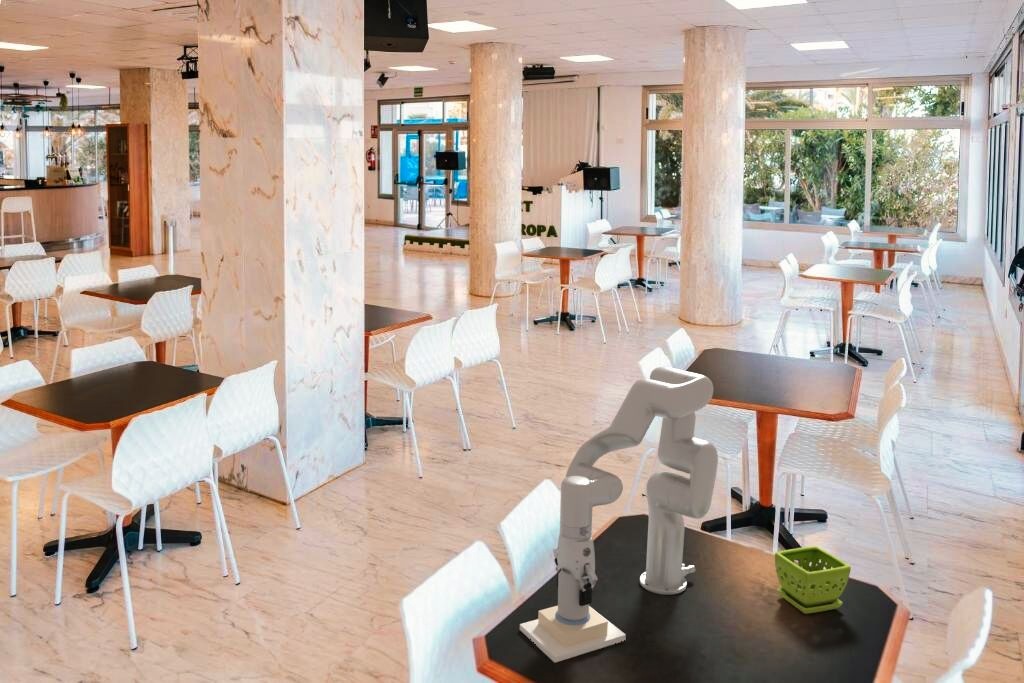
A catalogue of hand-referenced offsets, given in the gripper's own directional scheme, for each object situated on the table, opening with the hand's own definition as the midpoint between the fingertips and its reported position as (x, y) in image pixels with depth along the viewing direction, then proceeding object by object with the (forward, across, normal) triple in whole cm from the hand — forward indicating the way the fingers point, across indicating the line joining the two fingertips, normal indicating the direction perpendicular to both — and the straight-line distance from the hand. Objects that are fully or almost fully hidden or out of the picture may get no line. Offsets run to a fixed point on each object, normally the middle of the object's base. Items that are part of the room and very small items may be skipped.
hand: (573, 595), depth 209 cm
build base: (+10, 0, 0) cm, 10 cm away
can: (+5, 0, 0) cm, 5 cm away
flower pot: (+11, -16, -63) cm, 66 cm away
